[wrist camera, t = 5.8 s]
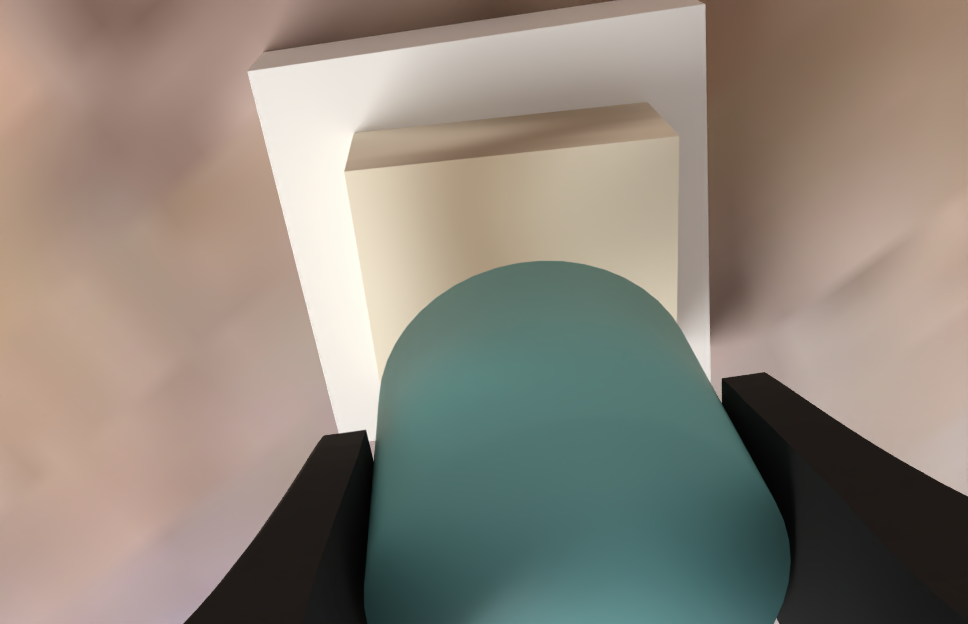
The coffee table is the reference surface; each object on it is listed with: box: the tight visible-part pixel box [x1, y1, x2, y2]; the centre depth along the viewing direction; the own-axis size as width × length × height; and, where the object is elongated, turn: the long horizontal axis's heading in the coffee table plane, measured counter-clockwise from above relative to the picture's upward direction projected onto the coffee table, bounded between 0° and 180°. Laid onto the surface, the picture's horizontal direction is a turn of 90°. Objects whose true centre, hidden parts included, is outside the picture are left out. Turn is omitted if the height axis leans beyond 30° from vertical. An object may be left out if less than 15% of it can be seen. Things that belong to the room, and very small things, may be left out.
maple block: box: [344, 102, 679, 386], centre depth 18 cm, size 6×6×2 cm
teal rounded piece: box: [364, 261, 791, 624], centre depth 12 cm, size 5×5×4 cm
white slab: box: [247, 0, 711, 441], centre depth 20 cm, size 9×9×2 cm
